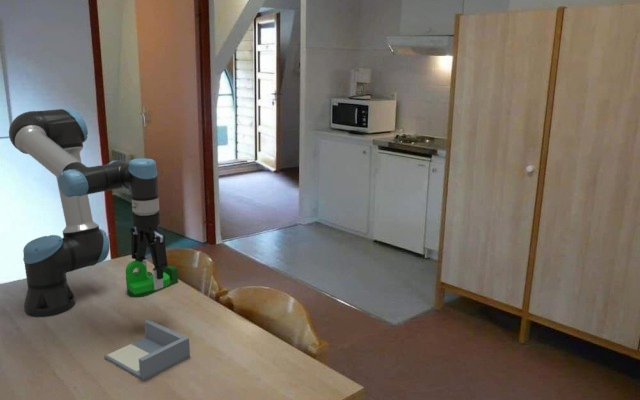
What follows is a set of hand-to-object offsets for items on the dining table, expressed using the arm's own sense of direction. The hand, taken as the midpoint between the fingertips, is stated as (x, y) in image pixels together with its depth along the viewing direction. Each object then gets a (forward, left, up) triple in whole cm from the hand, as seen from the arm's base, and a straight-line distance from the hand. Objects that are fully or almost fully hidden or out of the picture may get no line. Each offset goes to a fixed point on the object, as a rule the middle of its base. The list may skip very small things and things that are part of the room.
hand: (150, 285), depth 164 cm
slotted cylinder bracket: (-27, +18, -15) cm, 35 cm away
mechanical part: (0, 0, -1) cm, 1 cm away
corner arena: (+13, -12, -14) cm, 23 cm away
